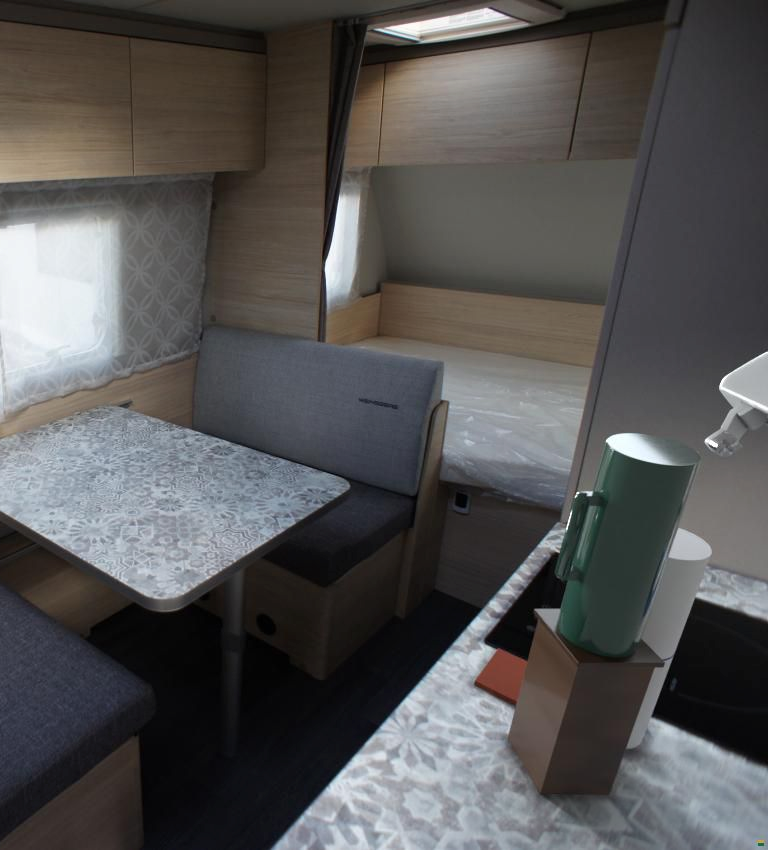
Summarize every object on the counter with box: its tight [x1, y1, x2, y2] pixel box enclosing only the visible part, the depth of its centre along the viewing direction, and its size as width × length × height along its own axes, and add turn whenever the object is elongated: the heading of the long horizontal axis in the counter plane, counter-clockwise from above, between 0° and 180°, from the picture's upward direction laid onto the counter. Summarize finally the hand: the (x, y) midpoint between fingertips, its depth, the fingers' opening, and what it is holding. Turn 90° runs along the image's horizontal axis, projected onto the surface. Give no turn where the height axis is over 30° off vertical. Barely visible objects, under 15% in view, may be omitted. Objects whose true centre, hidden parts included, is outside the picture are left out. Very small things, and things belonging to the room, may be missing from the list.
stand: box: [507, 608, 665, 796], centre depth 69 cm, size 8×8×18 cm
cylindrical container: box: [626, 527, 713, 750], centre depth 72 cm, size 7×7×25 cm
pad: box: [473, 647, 528, 706], centre depth 83 cm, size 8×7×1 cm
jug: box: [554, 432, 703, 658], centre depth 61 cm, size 8×7×20 cm
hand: (753, 473), depth 57 cm, fingers open, 8 cm apart
